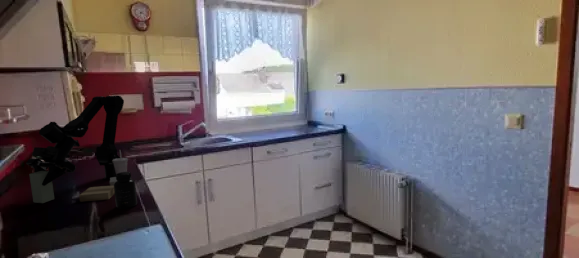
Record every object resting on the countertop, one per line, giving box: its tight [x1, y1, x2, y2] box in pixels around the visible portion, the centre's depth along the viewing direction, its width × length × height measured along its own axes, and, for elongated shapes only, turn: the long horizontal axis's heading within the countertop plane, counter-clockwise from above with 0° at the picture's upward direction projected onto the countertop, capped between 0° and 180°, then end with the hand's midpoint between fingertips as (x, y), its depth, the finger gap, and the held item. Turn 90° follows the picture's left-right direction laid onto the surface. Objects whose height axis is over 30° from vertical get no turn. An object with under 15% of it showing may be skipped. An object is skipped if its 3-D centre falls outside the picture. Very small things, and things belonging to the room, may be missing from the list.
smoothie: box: [112, 149, 129, 174], centre depth 152 cm, size 6×6×14 cm
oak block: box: [78, 185, 115, 203], centre depth 130 cm, size 10×10×3 cm
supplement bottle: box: [114, 171, 138, 210], centre depth 117 cm, size 7×7×12 cm
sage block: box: [28, 170, 55, 204], centre depth 125 cm, size 5×5×11 cm
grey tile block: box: [109, 177, 117, 186], centre depth 142 cm, size 8×8×4 cm
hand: (38, 184), depth 123 cm, fingers closed on sage block, 5 cm apart
